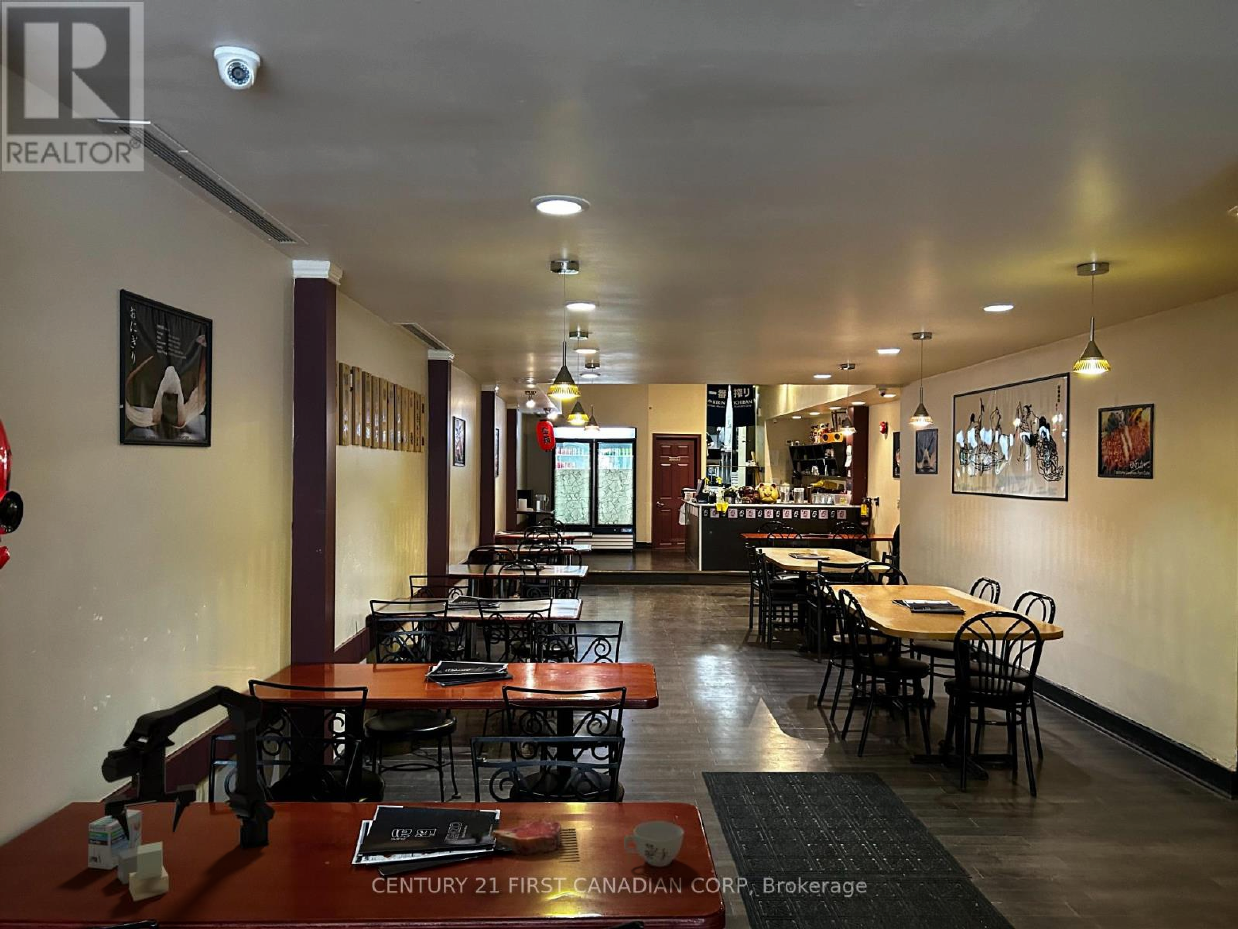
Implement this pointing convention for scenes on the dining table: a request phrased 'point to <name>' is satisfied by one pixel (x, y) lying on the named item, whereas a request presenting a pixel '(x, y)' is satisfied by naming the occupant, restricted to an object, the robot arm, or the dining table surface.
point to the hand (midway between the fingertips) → (151, 836)
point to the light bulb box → (112, 839)
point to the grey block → (127, 864)
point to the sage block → (149, 861)
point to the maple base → (148, 885)
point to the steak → (537, 838)
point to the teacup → (656, 842)
